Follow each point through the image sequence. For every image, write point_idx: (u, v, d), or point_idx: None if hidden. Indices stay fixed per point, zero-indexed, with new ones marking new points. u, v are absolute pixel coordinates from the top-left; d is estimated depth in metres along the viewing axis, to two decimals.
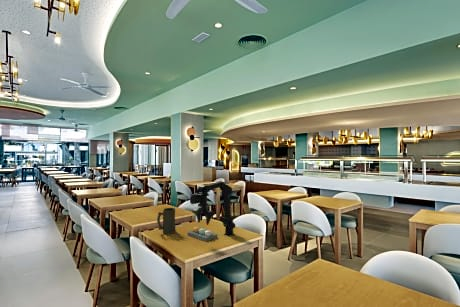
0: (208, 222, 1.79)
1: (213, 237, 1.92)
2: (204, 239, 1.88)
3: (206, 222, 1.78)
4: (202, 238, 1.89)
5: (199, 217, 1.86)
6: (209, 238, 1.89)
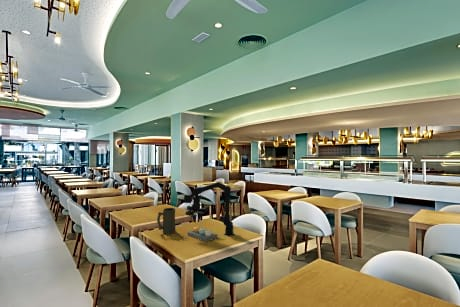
0: (194, 220, 2.01)
1: (213, 237, 1.92)
2: (204, 239, 1.88)
3: (194, 220, 2.03)
4: (202, 238, 1.89)
5: (198, 217, 2.04)
6: (209, 238, 1.89)
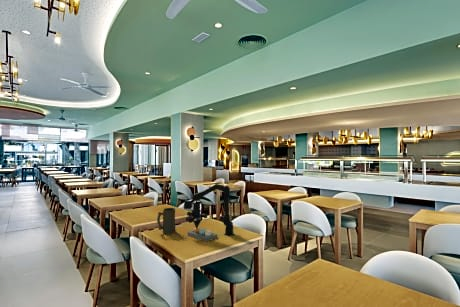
0: (196, 226, 2.02)
1: (213, 237, 1.92)
2: (204, 239, 1.88)
3: None
4: (202, 238, 1.89)
5: None
6: (209, 238, 1.89)
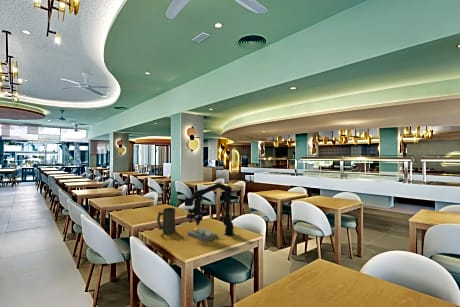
0: (197, 223, 2.02)
1: (213, 237, 1.92)
2: (204, 239, 1.88)
3: None
4: (202, 238, 1.89)
5: None
6: (209, 238, 1.89)
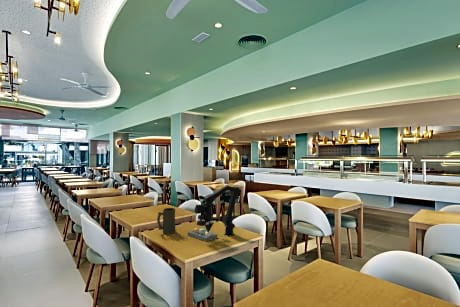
0: (207, 230, 1.93)
1: (213, 237, 1.92)
2: (204, 239, 1.88)
3: (207, 229, 1.94)
4: (202, 238, 1.89)
5: None
6: (209, 238, 1.89)
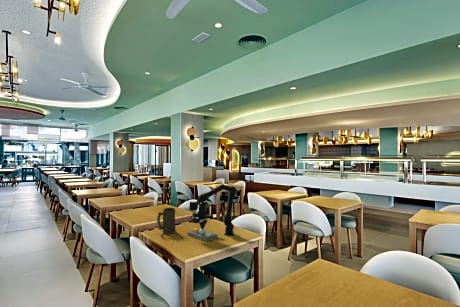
0: (201, 227, 1.98)
1: (213, 237, 1.92)
2: (204, 239, 1.88)
3: (201, 227, 1.99)
4: (202, 238, 1.89)
5: None
6: (209, 238, 1.89)
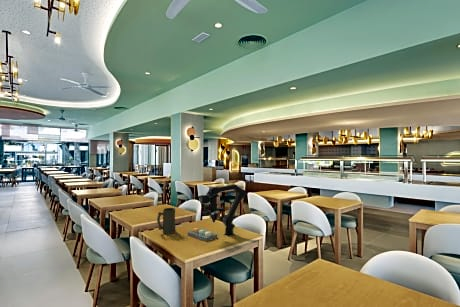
0: (213, 220, 1.96)
1: (213, 237, 1.92)
2: (204, 239, 1.88)
3: None
4: (202, 238, 1.89)
5: None
6: (209, 238, 1.89)
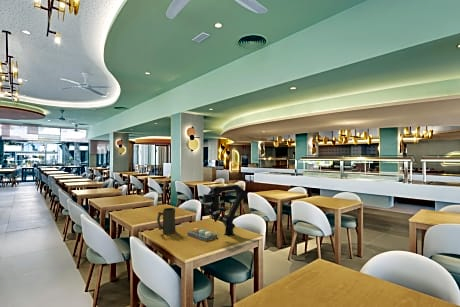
0: (215, 220, 1.96)
1: (213, 237, 1.92)
2: (204, 239, 1.88)
3: (214, 219, 1.97)
4: (202, 238, 1.89)
5: None
6: (209, 238, 1.89)
